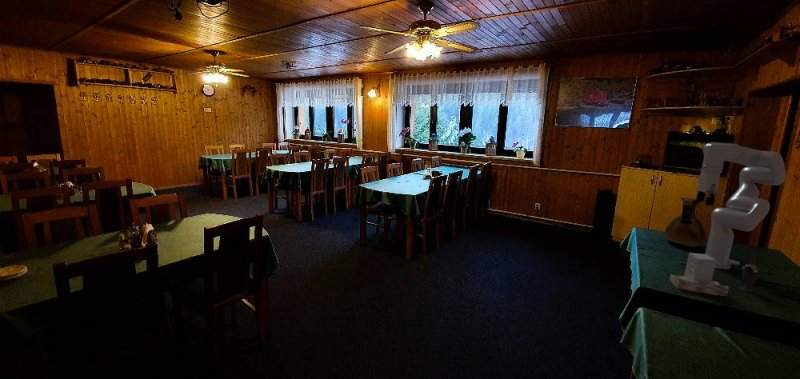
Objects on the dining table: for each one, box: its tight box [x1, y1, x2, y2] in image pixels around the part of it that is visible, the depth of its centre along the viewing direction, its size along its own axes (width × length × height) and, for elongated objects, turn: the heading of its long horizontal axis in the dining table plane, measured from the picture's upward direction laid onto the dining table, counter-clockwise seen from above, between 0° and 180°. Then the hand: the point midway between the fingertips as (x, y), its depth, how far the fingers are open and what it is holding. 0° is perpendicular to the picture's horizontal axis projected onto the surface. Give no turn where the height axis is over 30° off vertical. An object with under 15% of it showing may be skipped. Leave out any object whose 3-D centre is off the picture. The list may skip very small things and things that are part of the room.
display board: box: [669, 274, 730, 297], centre depth 158 cm, size 18×10×4 cm, turn 69°
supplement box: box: [683, 252, 716, 284], centre depth 158 cm, size 7×7×13 cm
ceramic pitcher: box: [664, 197, 707, 248], centre depth 212 cm, size 20×20×30 cm
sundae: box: [738, 258, 762, 293], centre depth 156 cm, size 7×7×15 cm
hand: (704, 202), depth 170 cm, fingers open, 9 cm apart
